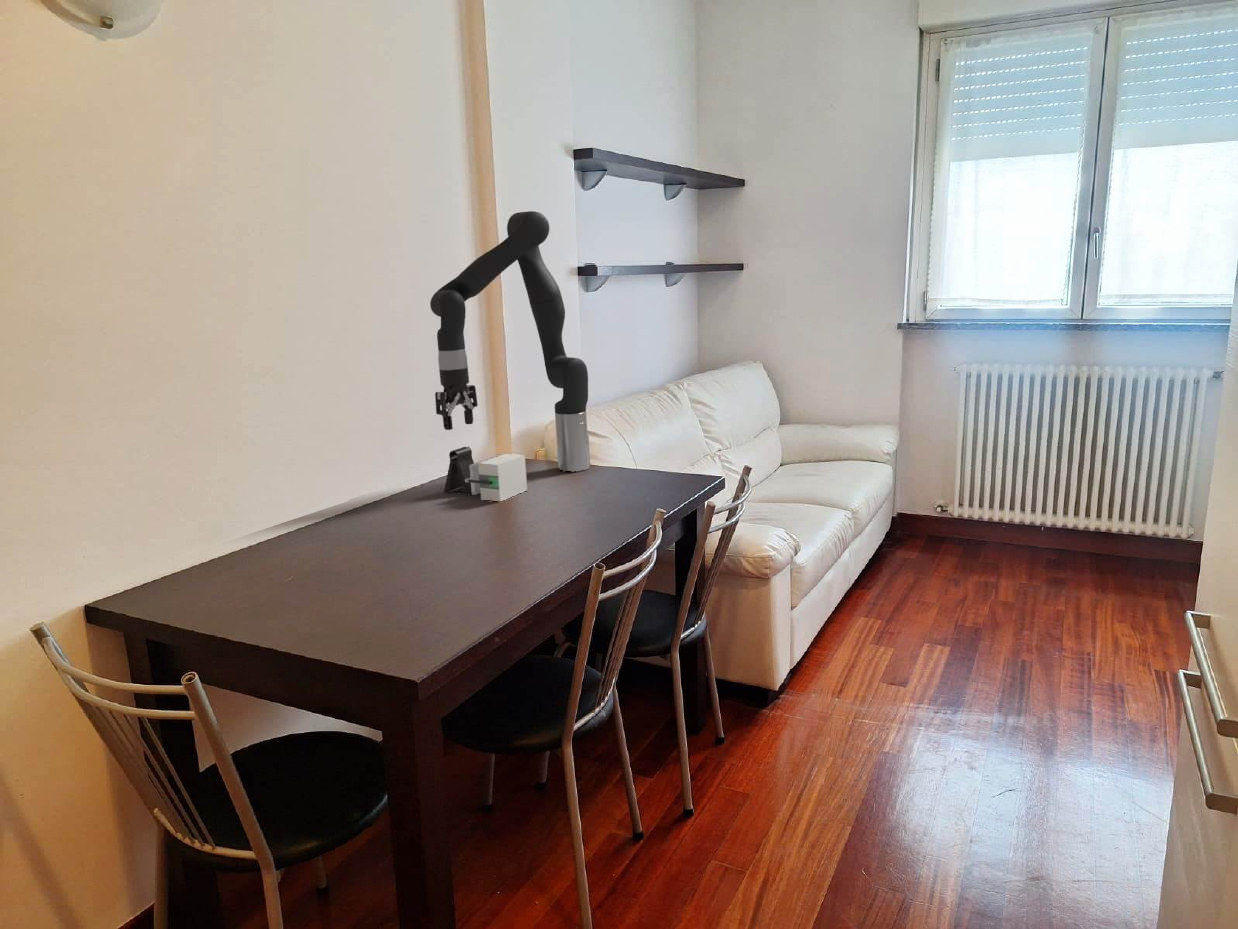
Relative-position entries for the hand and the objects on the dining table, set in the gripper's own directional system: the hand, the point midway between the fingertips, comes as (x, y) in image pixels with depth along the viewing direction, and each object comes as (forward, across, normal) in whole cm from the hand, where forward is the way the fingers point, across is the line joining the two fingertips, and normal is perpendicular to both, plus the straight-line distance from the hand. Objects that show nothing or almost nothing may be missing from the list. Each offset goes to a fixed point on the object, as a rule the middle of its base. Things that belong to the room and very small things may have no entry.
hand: (459, 426), depth 228 cm
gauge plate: (+17, -2, -11) cm, 20 cm away
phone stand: (+18, 0, 0) cm, 18 cm away
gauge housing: (+18, -1, -14) cm, 23 cm away
